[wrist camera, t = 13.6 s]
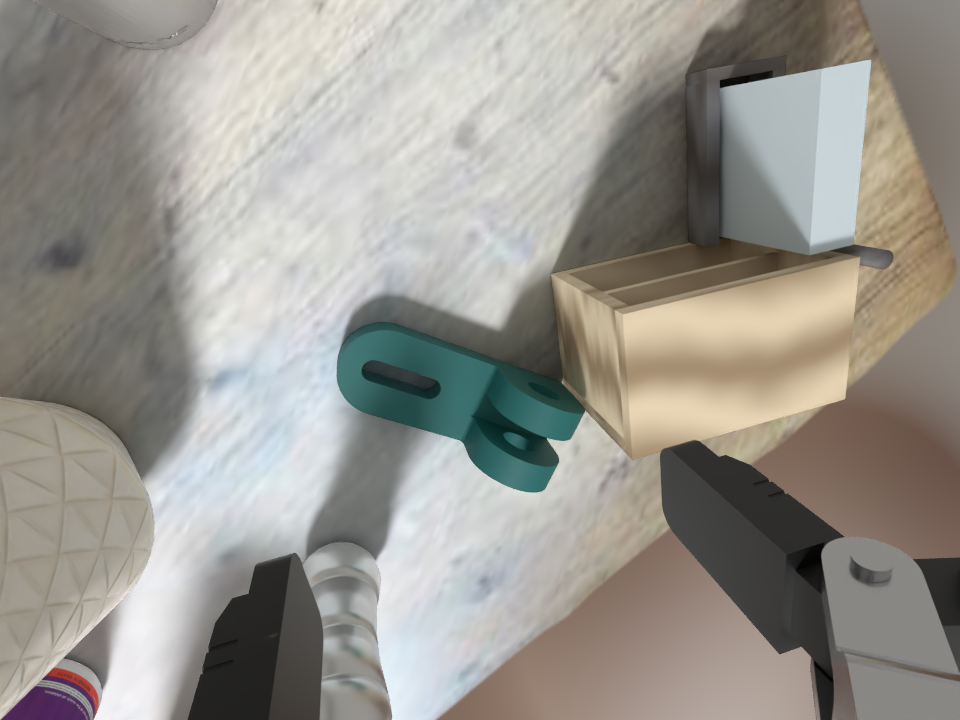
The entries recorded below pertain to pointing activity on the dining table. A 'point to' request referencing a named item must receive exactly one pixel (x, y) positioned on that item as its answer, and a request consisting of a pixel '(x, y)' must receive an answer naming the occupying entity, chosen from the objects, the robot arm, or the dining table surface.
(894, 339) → the dining table surface
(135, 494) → the vase
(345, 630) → the plastic bottle
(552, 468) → the bracket
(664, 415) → the wooden caddy
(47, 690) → the pill bottle
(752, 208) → the door
